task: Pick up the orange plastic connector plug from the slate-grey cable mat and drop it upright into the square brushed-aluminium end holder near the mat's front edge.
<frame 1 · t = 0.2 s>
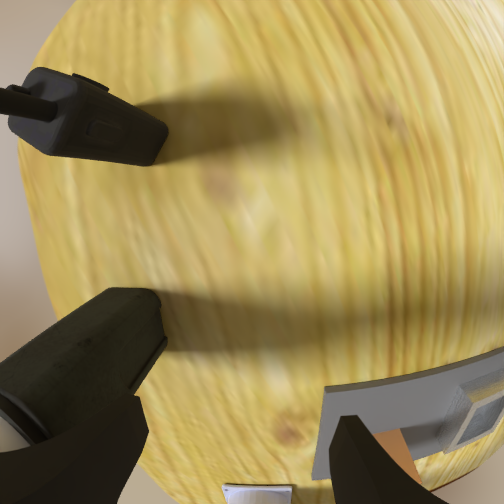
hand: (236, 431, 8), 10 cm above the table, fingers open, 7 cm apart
black nozzle bottle: (135, 318, 19), on the table
walkie-talkie: (138, 135, 16), on the table
connector plug: (378, 442, 19), point 1 cm above the table, touching cable mat
end holder: (469, 398, 19), resting on cable mat
cable mat: (427, 419, 19), on the table
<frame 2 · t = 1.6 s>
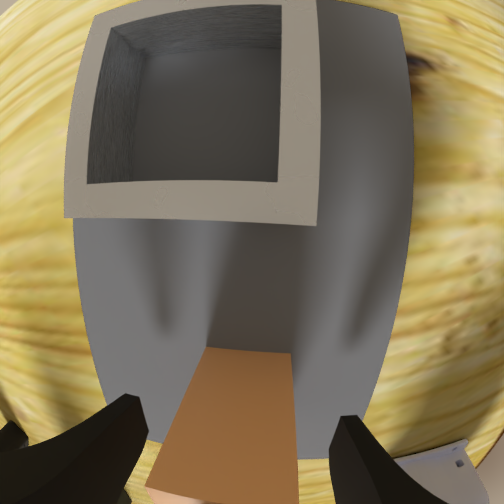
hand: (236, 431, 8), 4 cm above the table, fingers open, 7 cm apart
black nozzle bottle: (107, 486, 17), on the table
walkie-talkie: (19, 431, 18), on the table
connector plug: (246, 383, 11), point 1 cm above the table, touching cable mat
end holder: (208, 116, 10), resting on cable mat
cable mat: (227, 255, 11), on the table
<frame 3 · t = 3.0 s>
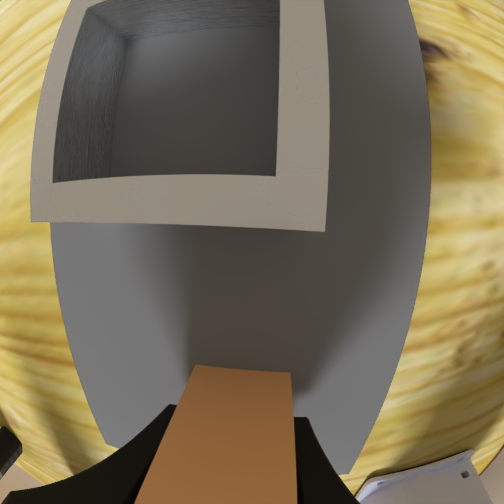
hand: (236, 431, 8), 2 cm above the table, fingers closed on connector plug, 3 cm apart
walkie-talkie: (13, 437, 16), on the table
connector plug: (241, 402, 10), point 1 cm above the table, touching cable mat, gripper
end holder: (196, 104, 8), resting on cable mat
cable mat: (219, 262, 10), on the table
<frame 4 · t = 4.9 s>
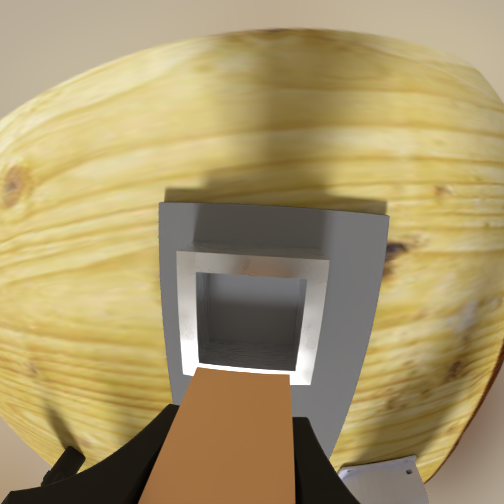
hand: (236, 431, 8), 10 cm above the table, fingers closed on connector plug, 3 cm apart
walkie-talkie: (75, 453, 26), on the table
connector plug: (241, 403, 10), point 8 cm above the table, touching gripper
end holder: (253, 299, 18), resting on cable mat
cable mat: (263, 369, 19), on the table
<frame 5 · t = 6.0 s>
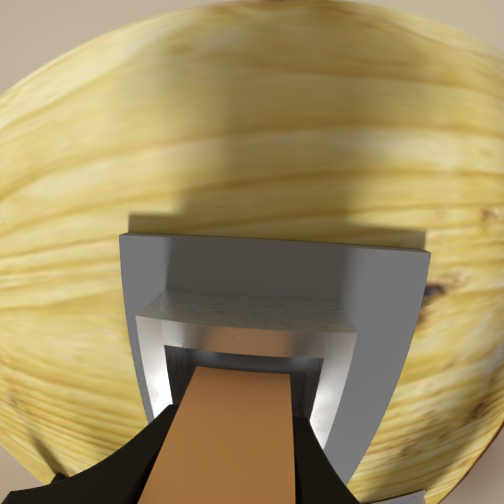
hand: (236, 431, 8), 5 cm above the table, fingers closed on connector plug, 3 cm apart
walkie-talkie: (66, 479, 21), on the table
connector plug: (241, 403, 10), point 3 cm above the table, touching gripper
end holder: (248, 358, 13), resting on cable mat
cable mat: (262, 430, 14), on the table
when the fingers open (5 cm above the table, at t = 6.8 s): connector plug drops 2 cm, resting on cable mat.
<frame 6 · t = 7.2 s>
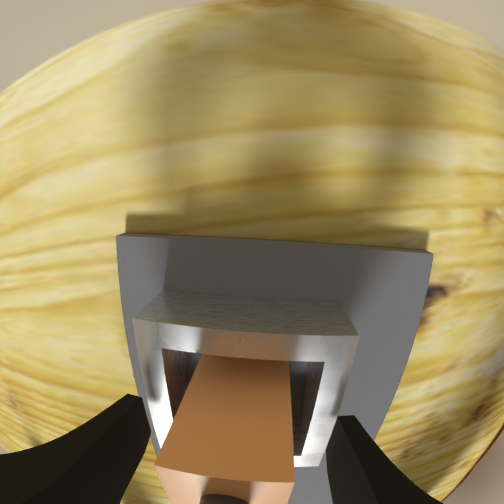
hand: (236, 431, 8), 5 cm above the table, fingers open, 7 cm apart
connector plug: (246, 374, 12), point 1 cm above the table, touching cable mat
end holder: (248, 361, 13), resting on cable mat
cable mat: (261, 432, 14), on the table
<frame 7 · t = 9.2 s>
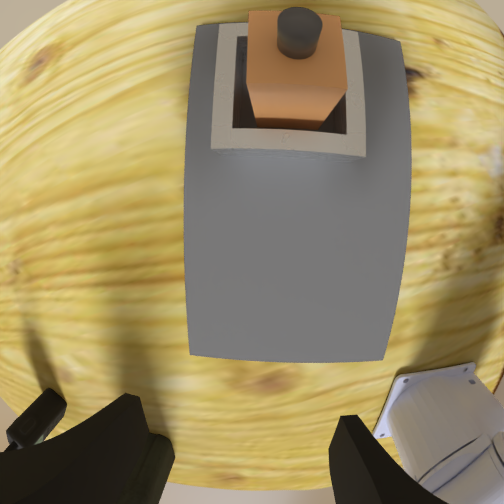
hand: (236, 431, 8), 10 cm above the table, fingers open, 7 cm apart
black nozzle bottle: (151, 443, 23), on the table
walkie-talkie: (56, 400, 23), on the table
connector plug: (287, 101, 15), point 1 cm above the table, touching cable mat
end holder: (287, 102, 15), resting on cable mat
cable mat: (301, 188, 16), on the table
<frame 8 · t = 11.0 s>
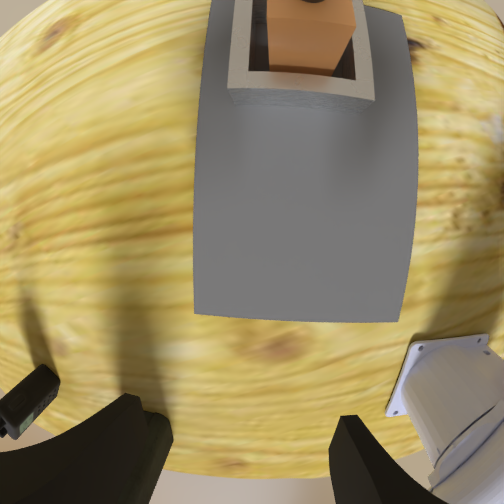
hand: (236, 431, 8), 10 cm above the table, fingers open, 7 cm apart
black nozzle bottle: (148, 424, 22), on the table
walkie-talkie: (49, 378, 23), on the table
connector plug: (298, 58, 14), point 1 cm above the table, touching cable mat
end holder: (297, 61, 15), resting on cable mat
cable mat: (312, 138, 16), on the table
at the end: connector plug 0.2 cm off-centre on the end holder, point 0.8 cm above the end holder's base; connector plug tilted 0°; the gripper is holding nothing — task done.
